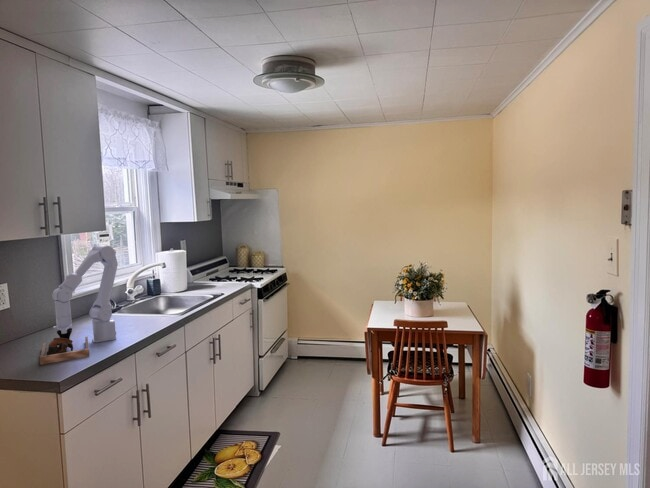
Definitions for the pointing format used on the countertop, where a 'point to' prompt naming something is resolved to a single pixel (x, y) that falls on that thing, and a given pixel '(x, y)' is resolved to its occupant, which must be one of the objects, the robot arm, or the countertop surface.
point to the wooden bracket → (63, 354)
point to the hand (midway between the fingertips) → (65, 345)
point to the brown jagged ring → (62, 344)
